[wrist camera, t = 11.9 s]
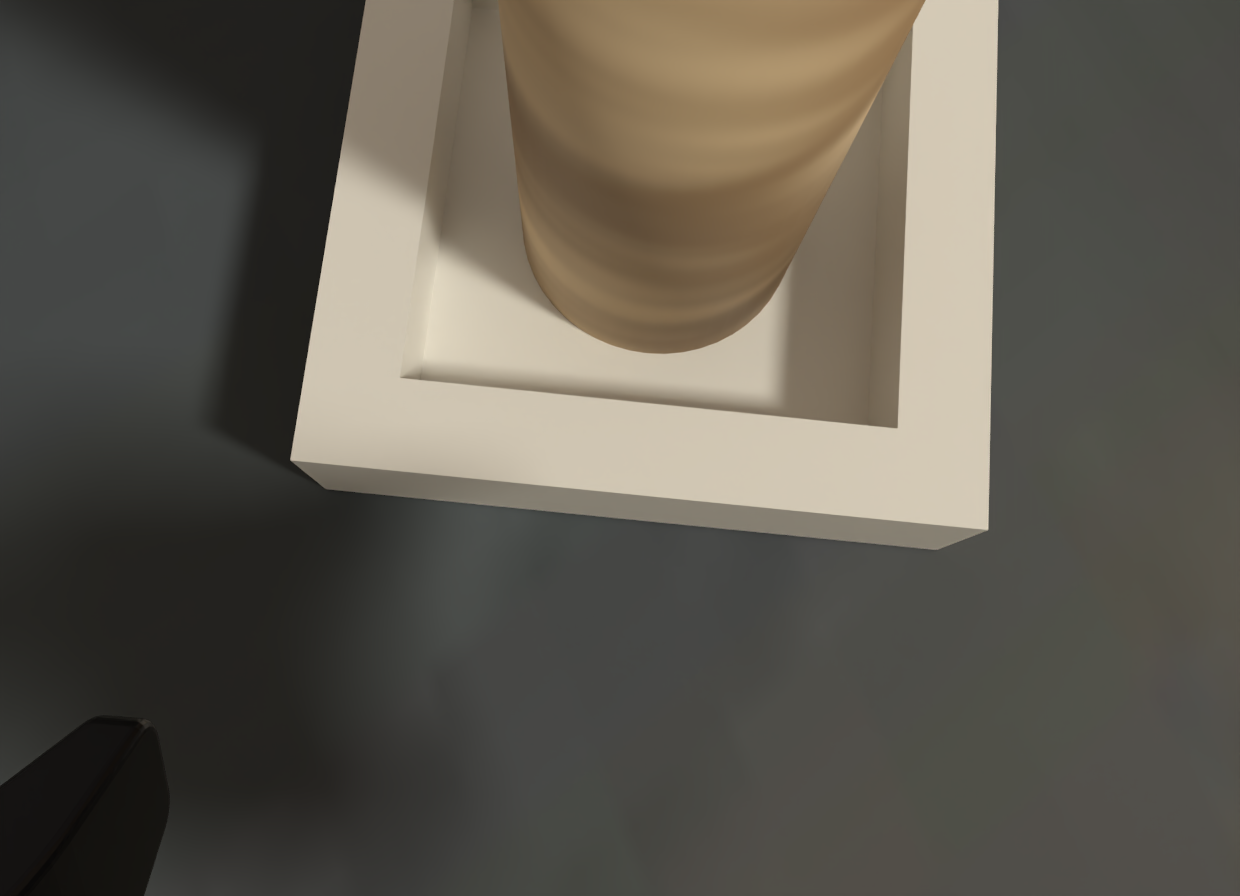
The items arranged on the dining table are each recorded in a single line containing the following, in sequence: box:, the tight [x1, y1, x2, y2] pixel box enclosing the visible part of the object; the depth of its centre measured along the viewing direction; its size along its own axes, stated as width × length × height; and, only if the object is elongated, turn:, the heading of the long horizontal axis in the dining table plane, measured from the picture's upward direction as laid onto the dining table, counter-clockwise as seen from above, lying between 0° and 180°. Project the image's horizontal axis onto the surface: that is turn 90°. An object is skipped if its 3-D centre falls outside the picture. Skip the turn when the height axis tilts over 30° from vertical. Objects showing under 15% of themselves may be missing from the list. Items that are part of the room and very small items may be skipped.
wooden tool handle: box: [498, 0, 926, 354], centre depth 14 cm, size 5×5×13 cm
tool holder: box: [290, 0, 998, 550], centre depth 19 cm, size 11×11×2 cm
